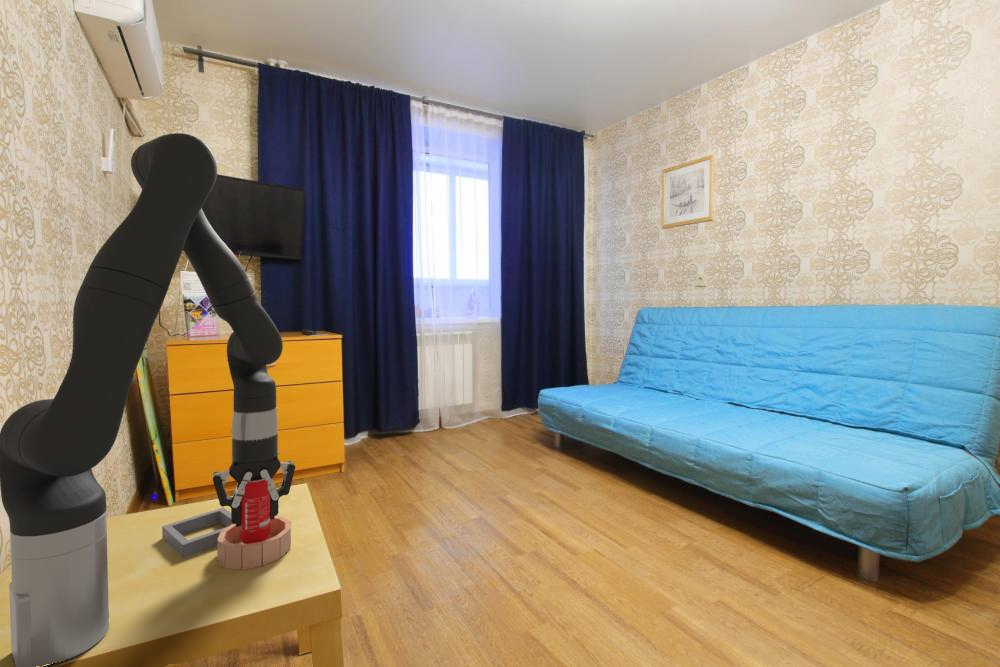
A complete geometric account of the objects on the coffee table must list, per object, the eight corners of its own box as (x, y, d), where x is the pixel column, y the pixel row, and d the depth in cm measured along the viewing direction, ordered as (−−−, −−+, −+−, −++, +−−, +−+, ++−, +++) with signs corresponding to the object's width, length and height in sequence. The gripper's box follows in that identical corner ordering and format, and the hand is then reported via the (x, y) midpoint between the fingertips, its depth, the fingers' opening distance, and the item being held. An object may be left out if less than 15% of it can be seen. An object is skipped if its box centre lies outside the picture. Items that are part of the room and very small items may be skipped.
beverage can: (247, 548, 81) (247, 484, 80) (234, 539, 84) (234, 477, 84) (276, 537, 85) (276, 476, 85) (263, 529, 88) (263, 469, 88)
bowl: (235, 577, 76) (235, 554, 76) (207, 553, 84) (207, 532, 83) (302, 548, 86) (302, 528, 86) (272, 528, 93) (272, 510, 93)
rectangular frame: (182, 558, 82) (182, 544, 82) (162, 538, 88) (162, 526, 88) (246, 534, 90) (246, 523, 90) (223, 518, 97) (223, 507, 97)
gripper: (209, 443, 77) (210, 539, 77) (300, 432, 84) (299, 520, 85) (209, 432, 83) (210, 522, 84) (293, 423, 91) (293, 505, 91)
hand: (255, 520), depth 84 cm, fingers closed on beverage can, 5 cm apart
